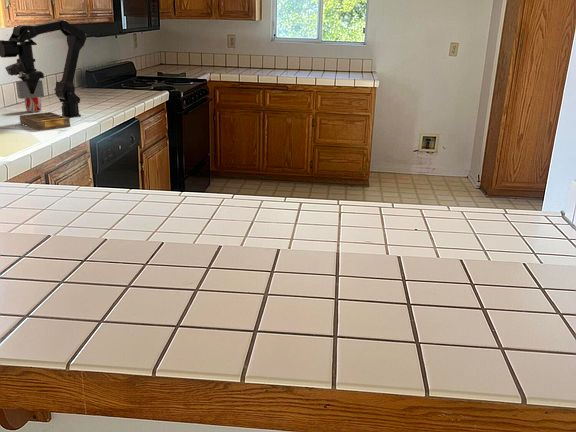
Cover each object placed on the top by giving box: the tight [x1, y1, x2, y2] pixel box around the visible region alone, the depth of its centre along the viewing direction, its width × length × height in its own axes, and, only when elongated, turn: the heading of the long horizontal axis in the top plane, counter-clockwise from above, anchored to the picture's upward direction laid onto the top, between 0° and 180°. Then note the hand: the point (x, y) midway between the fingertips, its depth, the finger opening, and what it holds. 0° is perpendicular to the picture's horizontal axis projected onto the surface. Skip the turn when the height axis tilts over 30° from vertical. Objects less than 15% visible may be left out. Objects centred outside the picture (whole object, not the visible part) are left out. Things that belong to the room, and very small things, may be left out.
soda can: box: [24, 97, 43, 113], centre depth 269 cm, size 7×7×12 cm
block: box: [15, 79, 45, 100], centre depth 243 cm, size 10×3×7 cm, turn 134°
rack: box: [19, 111, 71, 131], centre depth 241 cm, size 14×18×4 cm
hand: (30, 93), depth 244 cm, fingers closed on block, 3 cm apart
